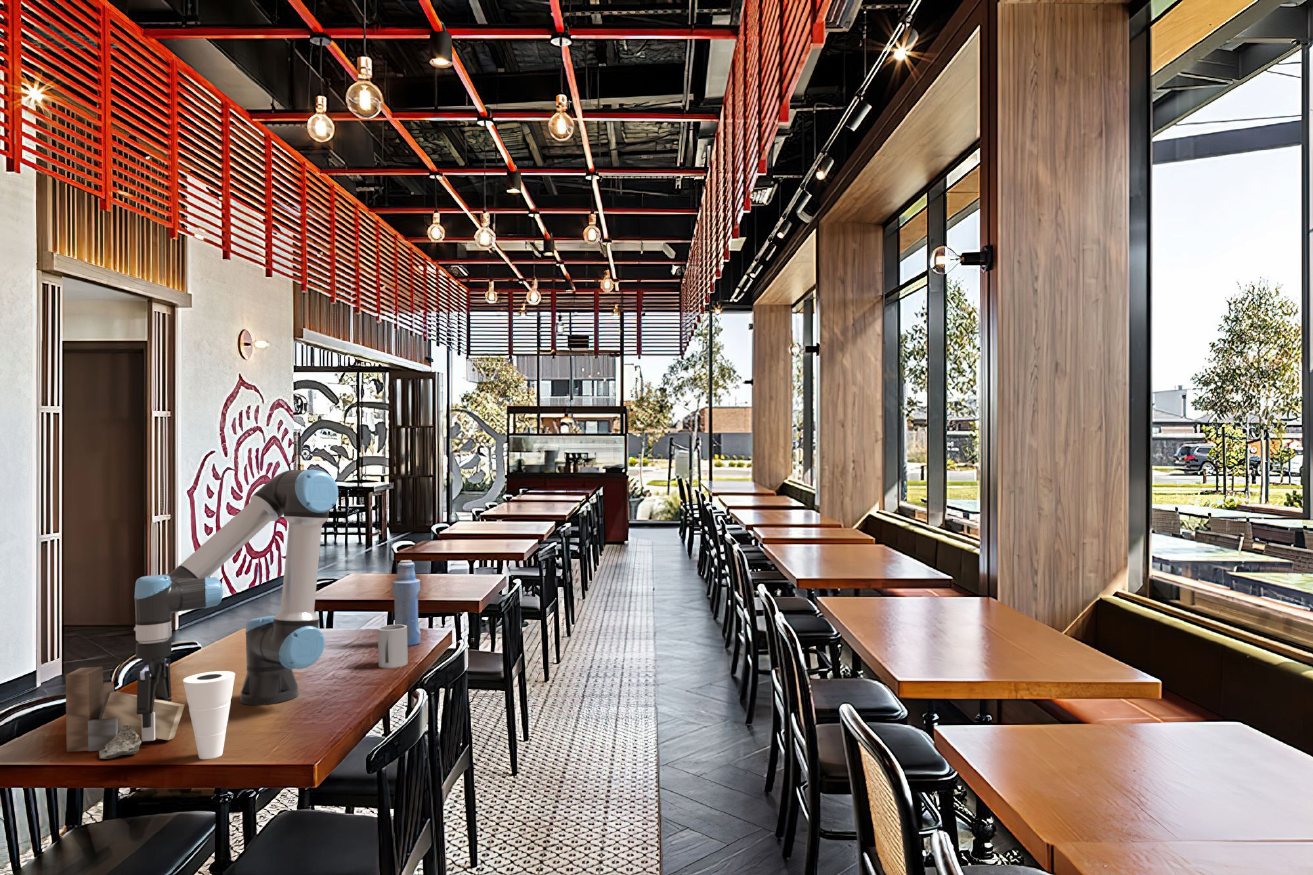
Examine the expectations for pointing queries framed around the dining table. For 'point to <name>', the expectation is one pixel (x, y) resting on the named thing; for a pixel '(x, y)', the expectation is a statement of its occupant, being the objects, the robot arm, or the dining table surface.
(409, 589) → the bottle
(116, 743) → the rock sample
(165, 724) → the rail
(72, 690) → the post
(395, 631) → the cup
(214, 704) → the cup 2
